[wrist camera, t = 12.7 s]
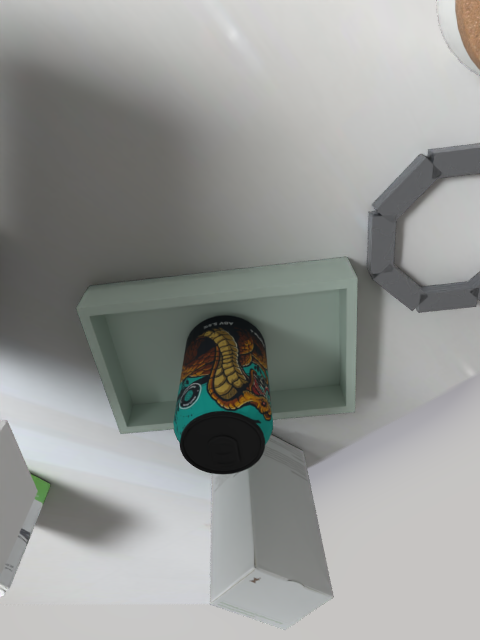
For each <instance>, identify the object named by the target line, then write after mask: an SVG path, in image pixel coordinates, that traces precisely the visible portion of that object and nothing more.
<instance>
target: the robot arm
mask: <svg viewBox="0 0 480 640" xmlns="http://www.w3.org/2000/svg"><path fill="white" fill-rule="evenodd" d="M37 492H38V491H37V488H36V486H35V484H34V481H33V479H32V477H31V474H30V472H29V470H28V467H27V465H26V463H25V460H24V458H23V456H22V453H21V451H20V449H19V447H18V444H17V442H16V440H15V437H14V435H13V433H12V430H11V428H10V426H9V423H8V421H7V420H0V576H1V573H2V571H3V569H4V567H5V564H6V562H7V560H8V558H9V555H10V553H11V551H12V549H13V546H14V544H15V542H16V540H17V537H18V535H19V533H20V530H21V528H22V526H23V524H24V521H25V519H26V517H27V515H28V512H29V510H30V508H31V506H32V503H33V501H34V499H35V497H36V494H37Z"/></svg>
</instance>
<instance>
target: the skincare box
mask: <svg viewBox="0 0 480 640" xmlns="http://www.w3.org/2000/svg"><path fill="white" fill-rule="evenodd" d="M333 597H334V596H333V591H332V587H331V582H330V577H329V572H328V567H327V563H326V558H325V553H324V549H323V544H322V539H321V534H320V529H319V525H318V519H317V515H316V510H315V505H314V500H313V495H312V491H311V486H310V481H309V476H308V471H307V466H306V461H305V457H304V452H303V451H302V450H300V449H298V448H296V447H294V446H292V445H290V444H288V443H287V442H285V441H283V440H281V439H279V438H277V437H275V436H273V435H271V436H270V439H269V440H268V442H267V443H266V445H265V450H264V453H263V455H262V457H261V458H260V460H259V461H258V462H257V463H256V464H254V465H253V466H251V467H250V468H248V469H246V470H244V471H241V472H238V473H234V474H224V475H223V474H213V473H212V486H211V556H210V605H213V606H216V607H219V608H222V609H225V610H228V611H231V612H234V613H237V614H240V615H243V616H246V617H249V618H252V619H255V620H258V621H260V622H263V623H266V624H269V625H272V626H275V627H278V628H280V629H283V630H286V629H288V628H289V627H291V626H292V625H294V624H295V623H297V622H298V621H300V620H301V619H302V618H304V617H305V616H307V615H308V614H309V613H311V612H312V611H314V610H315V609H317V608H318V607H320V606H321V605H323V604H325V603H326V602H328V601H329V600H331V599H332V598H333Z"/></svg>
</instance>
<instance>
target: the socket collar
mask: <svg viewBox="0 0 480 640" xmlns="http://www.w3.org/2000/svg"><path fill="white" fill-rule="evenodd" d="M478 173H480V143H477V144H469V145H461V146H453V147H445V148H437V149H429V150H428V158H426V157H425V156H423V155H422V154H420V155H419V156H418V157H417V158H416V159H415V160H414V161H413V162H412V163H411V164H410V165H409V166H408V167H407V168H406V169H405V170H404V171H403V173H402V174H401V175H400V176H399V177H398V178H397V179H396V180H395V181H394V182H393V183H392V184H391V185H390V186H389V187H388V188H387V189H386V190H385V191H384V192H383V194H382V195H381V196H380V197H379V198H378V199H377V200H376V201H375V202H374V203H373V204H372V206H373V207H374V208H375V209H376V210H377V211H372V212H369V216H368V250H367V269H368V271H369V272H370V275H371V277H372V279H373V280H374V281H375V282H376V283H378V284H379V285H380V286H381V287H383V288H384V289H385V290H386V291H388V292H389V293H390V294H391V295H393V296H394V297H395V298H396V299H398V300H399V301H400V302H401V303H403V304H404V305H405V306H406V307H408V308H409V309H410V310H411V311H413V310H414V309H415V308H416V310H417V311H418V313H420V312H429V311H439V310H448V309H458V308H468V307H476V304H477V299H478V300H479V301H480V272H479V273H477V274H476V275H475V276H474V277H473V278H472V279H470V280H469V281H468V282H461V283H451V284H442V285H433V286H424V287H420V286H419V285H418V284H417V283H415V282H414V281H413V280H412V279H411V278H409V277H408V276H407V275H406V274H405V273H403V272H402V271H401V270H400V269H399V268H397V267H396V266H395V265H394V251H395V235H396V220H397V219H398V218H399V217H400V216H401V215H402V214H403V213H404V212H405V211H406V210H407V209H408V208H409V207H410V206H411V205H412V204H413V203H414V202H415V201H416V200H417V199H418V198H419V197H420V196H421V195H422V194H423V193H424V192H425V191H426V190H427V189H428V188H429V187H430V186H431V185H432V184H433V183H434V182H435V181H436V180H437V179H438V178H444V177H453V176H461V175H470V174H478Z"/></svg>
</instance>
